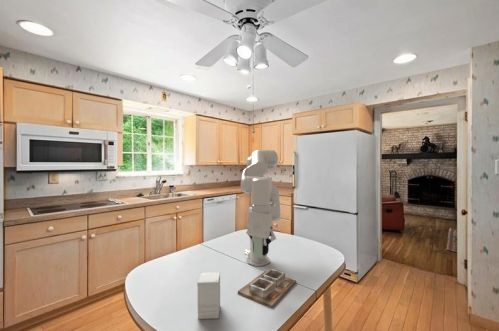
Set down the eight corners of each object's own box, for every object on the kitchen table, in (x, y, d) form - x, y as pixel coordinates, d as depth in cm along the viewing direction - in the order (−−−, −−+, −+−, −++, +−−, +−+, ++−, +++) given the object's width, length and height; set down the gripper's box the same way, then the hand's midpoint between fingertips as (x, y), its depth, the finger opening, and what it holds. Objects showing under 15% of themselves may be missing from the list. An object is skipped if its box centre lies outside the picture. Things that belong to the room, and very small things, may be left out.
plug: (253, 256, 91) (253, 236, 91) (259, 252, 95) (259, 234, 94) (261, 258, 89) (262, 238, 89) (267, 255, 92) (267, 235, 92)
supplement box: (220, 305, 84) (220, 271, 84) (218, 319, 76) (218, 282, 76) (200, 305, 84) (201, 272, 84) (196, 319, 76) (197, 282, 76)
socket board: (237, 293, 92) (237, 283, 92) (265, 272, 110) (265, 264, 110) (271, 308, 82) (271, 297, 82) (296, 282, 100) (296, 273, 100)
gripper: (239, 207, 93) (238, 251, 94) (273, 212, 84) (273, 261, 84) (249, 204, 99) (249, 245, 100) (283, 209, 90) (283, 254, 90)
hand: (260, 252), depth 92 cm, fingers closed on plug, 4 cm apart
